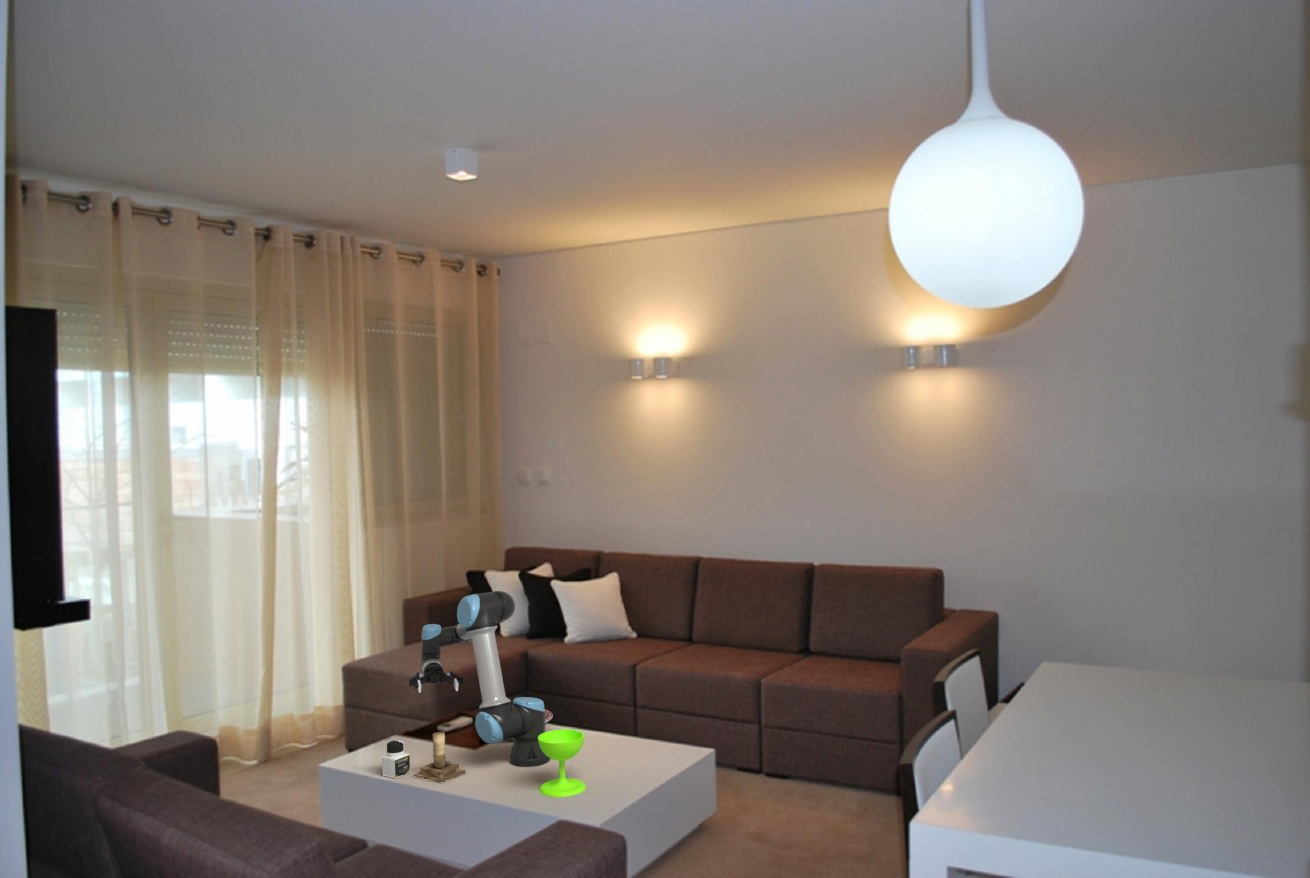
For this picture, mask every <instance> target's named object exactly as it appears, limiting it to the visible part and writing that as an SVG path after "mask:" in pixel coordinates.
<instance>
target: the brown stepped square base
mask: <svg viewBox="0 0 1310 878" xmlns="http://www.w3.org/2000/svg"><path fill="white" fill-rule="evenodd" d="M465 772H466V773H467V771H466V770H465V769H460V763H458V762H457V763H456V762H453V761H452V762H451V761H448V760H446V767H445V768H443V769H441V770H438V769H434V761H433V762H431V763H428V764H427V765H423V766H421V767H419V772H416V773H414V774H413V777H414V776H416V777H419V778H424V779H429V780H433V781H436V782H435V783H437V782H445V781H446V780H449V779H452V778H454V779H456V778H457V777H456V776H459V775H461V774H463V775H465V774H466V773H465ZM464 773H465V774H464ZM461 776H462V775H461ZM455 777H456V778H455ZM459 777H460V776H459ZM419 778H418V779H419ZM424 779H423V780H424ZM452 780H453V779H452ZM433 781H432V782H433ZM449 781H450V780H449ZM445 783H446V782H445Z"/></svg>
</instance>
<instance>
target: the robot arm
mask: <svg viewBox="0 0 1310 878" xmlns="http://www.w3.org/2000/svg"><path fill="white" fill-rule="evenodd" d="M456 609H457V611H456V617H457V622H458V624H456V625H453V626H445V627H442V626H441V625H440V624H436V623H428V624H426V625H423V627H422V629H421V653H420V656H421V657H420V661H419V662H420V663H419V664H420V667H421V670H422V673H423V674H422V673H420V672H416V674H415V675H414V676H412V677H411V678H409V681H408V687H413V689H415V690H417V691H418V693H422V685H424V684H437V683H439V682H441V683H449V684H452V685H453V687H454V690H455V691H456V692H458V691H459V687H461V685H464V677H463V676H461V675H459V674H456V673H454V672H453V671H452V670H451V671H449V672H448V673H445V672H444V669H443V666H442V663H441V653H442V652H441V648H445V647H450V646H455V645H460V644H467V643H470V642H471V643H472V647H473V648H472V649H473V652H474V653H473V655H474V661H475V665H476V671H477V676H478V683H479V689H480V693H481V694H480V695H481V701H482V702H481V703H480V705H479V707H478V709H479V713H477V715H476V716H475V720H474V725H475V729H476V732H477V734H478V736H479V738H480V739H481V740H482V741H483V742H484V743H487V744H495V743H501V742H503V741H506V740H511V739H510V738H514V739H513V744H512V748H511V750H510V751H511V752H510V755H509V763H510V764H511V765H513V766H516V767H536V766H541V765H544V764H547V763H548V762H550V761H551V760H552V759H551V758H549V757H548V756H546V755H545V754H544V753H543V751H542V750H541V748H540V746H539V743H538V736H539V735H540V734H542V733H545V732H546V725H545V703H544V701H543V700H542V699H541V698H537V697H531V696H530V697H529V696H528V697H527V696H522V697H521V696H519V697H515V698H513V700H512V701H511V699H510V698H508V697H507V696H506V691H505V686H504V681H503V673H502V668H501V662H500V656H499V651H498V645H497V638H496V633H495V632H496V630H497V629H498V624H500V623H501V624H502V623H504V622H506V621H507V620H509V619H511V617H512V616H513V615H514V614H515V611H516V610H515V609H516V603H515V600H514V598H513V596H511V595H510V594H509V593H508V592H505V591H502V590H494V591H487V592H481V593H473V594H470V595H466V596H464V597H463V598H461V599H460V601H459V603H458V605H457V608H456Z"/></svg>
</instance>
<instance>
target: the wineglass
mask: <svg viewBox="0 0 1310 878" xmlns="http://www.w3.org/2000/svg"><path fill="white" fill-rule="evenodd" d="M584 742H585V734H584V732H582V731H580V730H576V729H570V728H569V729H568V728H567V729H564V728H563V729H554V730H552V729H551V730H548V731H545V733H542V734H540V735H539V736H538V743H539V746H540V748H541V750H542V751H543V753H544V754H545V755H546V756H548V757H549V758H551V759H550V760H554V761H558V769H559V771H558V772H559V774H558V775H559V776H558V777H559V778H554V779H550V780H548V781H546V782H544V783H542V784H541V785H540V787H539V788H538V789H539V790H538V791H539V793H540V794H542V795H543V796H546V797H552V798H567V797H568V798H569V797H572V796H577V795H579V794H581V793H583V792H584V791H585V790H586V788H587V785H585V782H583V781H582V780H579V779H577V778H573V777H572V778H571V777H570V778H567V777H566V769H565V767H566V766H565V764H566V763H565V761H566V760H570V759H572V758H573V757H576V755H577V754H578V753H579V752H580V751H581V749H582V748H583V745H584Z"/></svg>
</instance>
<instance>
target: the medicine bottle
mask: <svg viewBox="0 0 1310 878" xmlns="http://www.w3.org/2000/svg"><path fill="white" fill-rule="evenodd" d="M410 758H411V757H410V753H407V752H405V742H404V741H403V740H398V739H396V740H395V739H394V740H391V741H389V742H387V744H386V755H383V756H381V775H382V774H384V775H388V776H392V777H394V778H396V777H398V776H401V775H404V776H406V775H405V774H407V775H409V774H410V773H411V765H410V762H411V761H410V760H411V759H410ZM409 772H410V773H409ZM408 773H409V774H408ZM394 778H393V779H394Z"/></svg>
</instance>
